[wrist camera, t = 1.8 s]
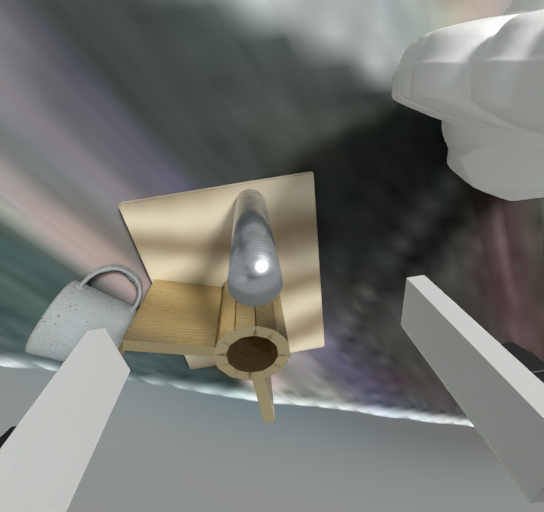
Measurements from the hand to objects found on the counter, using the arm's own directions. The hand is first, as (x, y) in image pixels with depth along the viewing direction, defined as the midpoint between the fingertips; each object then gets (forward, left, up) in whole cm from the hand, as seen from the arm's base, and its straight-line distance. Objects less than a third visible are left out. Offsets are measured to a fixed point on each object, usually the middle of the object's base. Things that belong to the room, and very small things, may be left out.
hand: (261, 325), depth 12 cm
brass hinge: (+14, -6, -17) cm, 23 cm away
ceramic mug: (+8, -19, -18) cm, 27 cm away
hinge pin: (0, 0, -17) cm, 17 cm away
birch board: (+10, -3, -18) cm, 21 cm away
